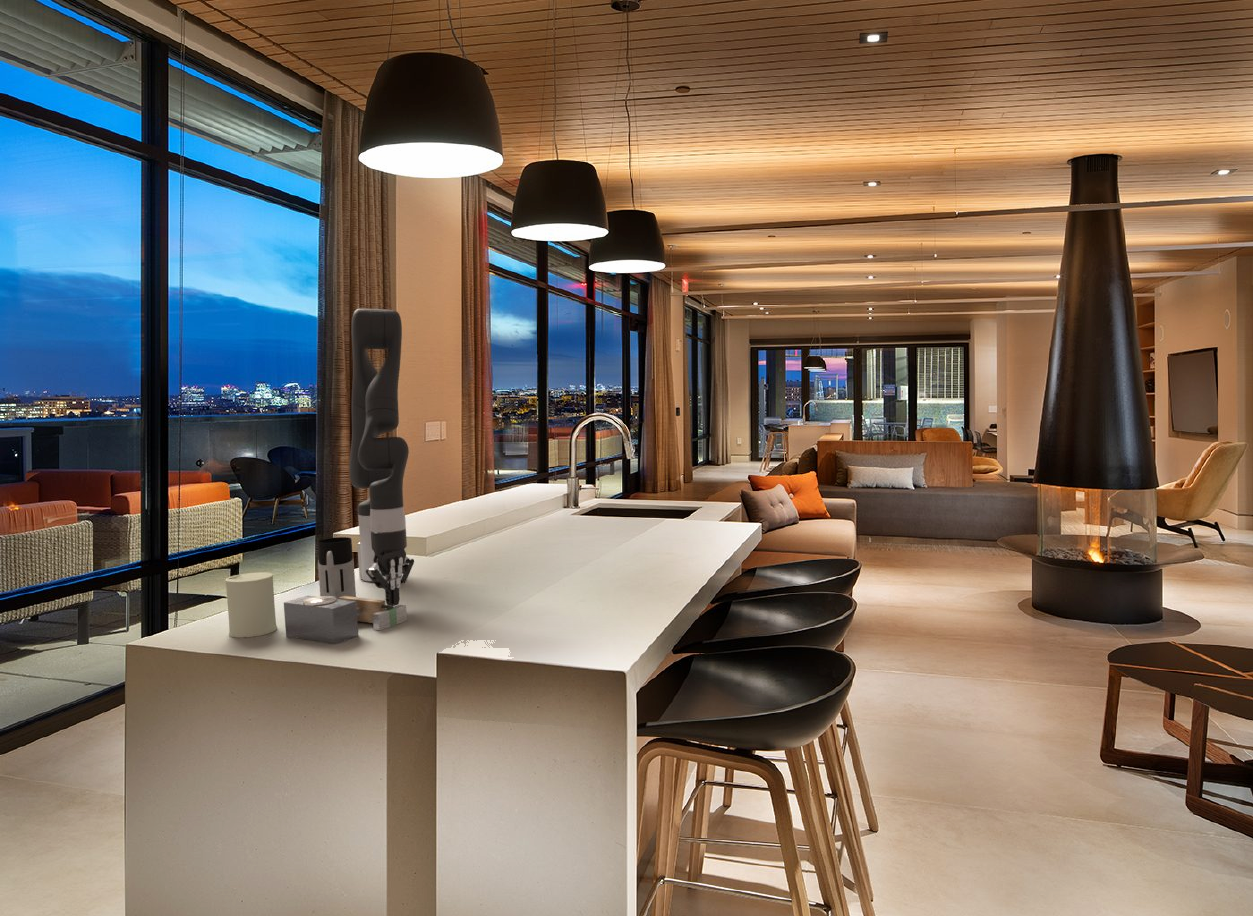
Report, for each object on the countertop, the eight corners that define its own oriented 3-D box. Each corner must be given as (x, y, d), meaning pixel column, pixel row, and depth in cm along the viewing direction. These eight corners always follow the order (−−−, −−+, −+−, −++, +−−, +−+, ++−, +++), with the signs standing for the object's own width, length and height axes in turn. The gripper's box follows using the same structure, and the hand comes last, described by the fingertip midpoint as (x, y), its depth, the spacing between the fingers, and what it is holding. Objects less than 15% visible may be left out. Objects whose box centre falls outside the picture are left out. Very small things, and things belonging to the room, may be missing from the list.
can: (238, 626, 182) (234, 571, 181) (283, 624, 183) (279, 568, 182) (221, 639, 173) (217, 580, 172) (268, 636, 174) (264, 578, 173)
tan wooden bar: (325, 623, 181) (323, 601, 180) (345, 616, 186) (344, 595, 185) (376, 630, 174) (374, 608, 173) (396, 623, 178) (394, 601, 178)
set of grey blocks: (285, 636, 173) (282, 600, 173) (355, 613, 189) (353, 580, 189) (338, 644, 166) (336, 607, 165) (407, 620, 182) (405, 586, 181)
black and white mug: (360, 597, 204) (356, 535, 203) (352, 612, 191) (347, 546, 189) (322, 600, 203) (318, 538, 202) (311, 615, 189) (306, 548, 188)
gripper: (397, 522, 196) (401, 596, 197) (353, 532, 185) (358, 611, 186) (422, 523, 192) (426, 599, 194) (378, 533, 181) (383, 614, 182)
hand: (392, 605), depth 190 cm, fingers closed
